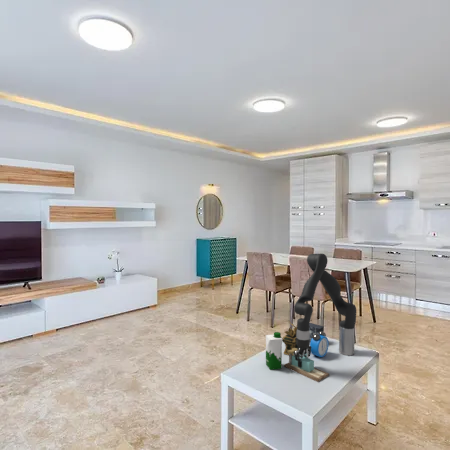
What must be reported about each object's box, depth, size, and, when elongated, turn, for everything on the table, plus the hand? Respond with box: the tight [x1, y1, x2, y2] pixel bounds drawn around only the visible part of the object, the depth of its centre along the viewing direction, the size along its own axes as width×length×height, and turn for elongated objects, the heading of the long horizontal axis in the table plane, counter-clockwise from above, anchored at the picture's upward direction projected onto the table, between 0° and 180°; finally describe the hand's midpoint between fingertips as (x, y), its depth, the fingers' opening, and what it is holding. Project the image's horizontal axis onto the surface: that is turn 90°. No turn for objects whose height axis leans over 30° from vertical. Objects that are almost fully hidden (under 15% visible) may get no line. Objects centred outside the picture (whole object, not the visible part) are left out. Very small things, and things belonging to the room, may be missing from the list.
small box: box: [309, 322, 325, 342], centre depth 227 cm, size 13×7×12 cm, turn 50°
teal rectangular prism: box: [292, 355, 315, 372], centre depth 185 cm, size 5×12×5 cm, turn 41°
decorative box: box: [281, 322, 298, 356], centre depth 208 cm, size 20×10×20 cm, turn 143°
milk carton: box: [265, 331, 283, 371], centre depth 188 cm, size 9×9×20 cm
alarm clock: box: [309, 331, 330, 359], centre depth 204 cm, size 13×6×15 cm, turn 131°
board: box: [283, 348, 330, 383], centre depth 183 cm, size 11×23×9 cm, turn 40°
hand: (302, 365), depth 185 cm, fingers closed on teal rectangular prism, 5 cm apart
